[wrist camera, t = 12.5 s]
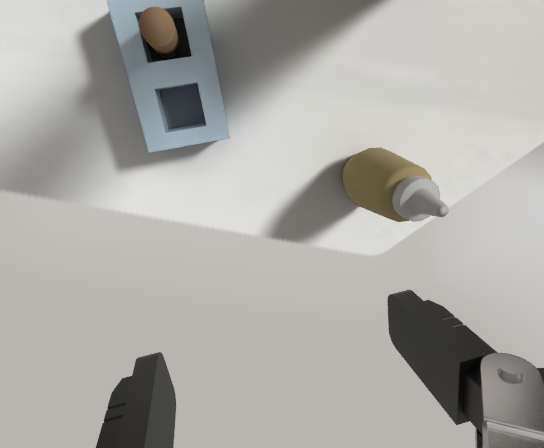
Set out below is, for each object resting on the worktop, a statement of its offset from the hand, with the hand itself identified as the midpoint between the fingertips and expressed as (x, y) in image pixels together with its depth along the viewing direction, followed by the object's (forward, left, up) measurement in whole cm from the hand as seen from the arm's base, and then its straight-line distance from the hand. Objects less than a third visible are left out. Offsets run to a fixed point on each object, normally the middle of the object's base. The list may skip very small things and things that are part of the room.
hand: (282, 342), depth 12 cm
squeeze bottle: (-19, +5, -36) cm, 41 cm away
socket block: (+3, -11, -36) cm, 38 cm away
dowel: (+3, -15, -36) cm, 39 cm away
